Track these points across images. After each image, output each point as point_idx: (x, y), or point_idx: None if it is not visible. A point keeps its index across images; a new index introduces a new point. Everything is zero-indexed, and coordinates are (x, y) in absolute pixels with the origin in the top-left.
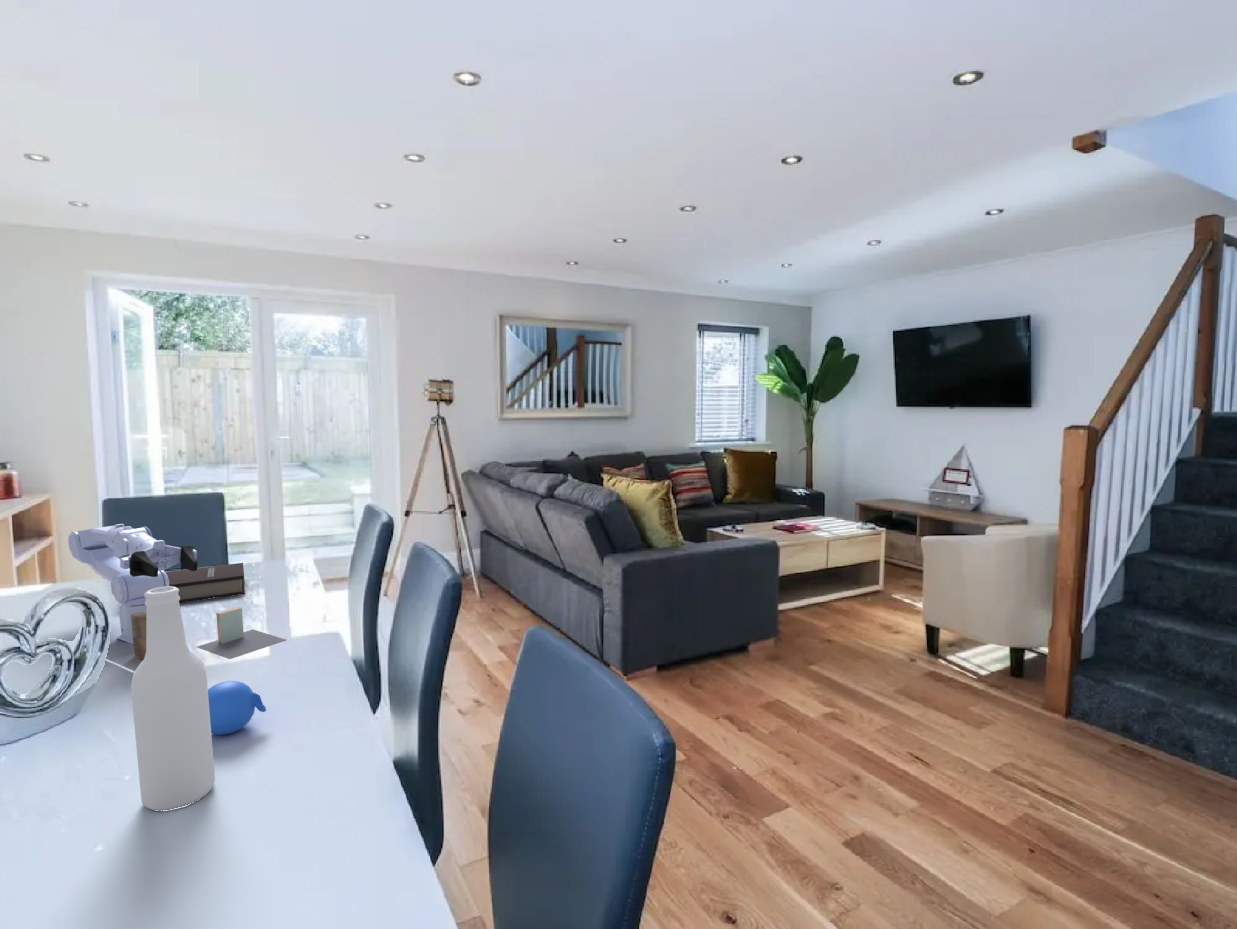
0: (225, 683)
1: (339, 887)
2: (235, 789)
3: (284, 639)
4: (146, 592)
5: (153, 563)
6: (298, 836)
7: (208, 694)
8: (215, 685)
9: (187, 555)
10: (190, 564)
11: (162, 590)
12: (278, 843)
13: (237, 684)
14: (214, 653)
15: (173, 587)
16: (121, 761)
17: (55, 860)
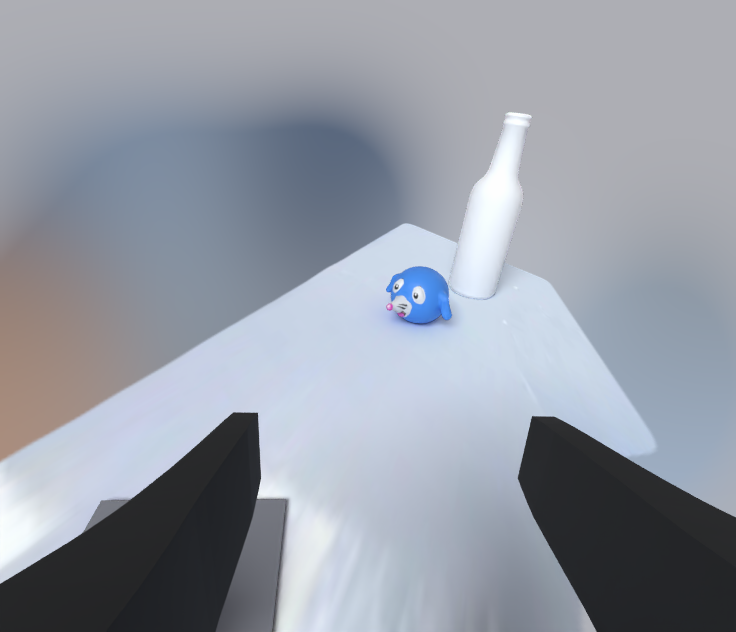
0: (424, 268)
1: (425, 236)
2: None
3: (97, 510)
4: (530, 115)
5: (587, 452)
6: (425, 250)
7: (441, 275)
8: (433, 273)
9: (187, 528)
10: (239, 499)
11: (518, 116)
12: (435, 251)
13: (414, 267)
14: (276, 590)
15: (510, 112)
16: (511, 340)
17: (538, 293)
